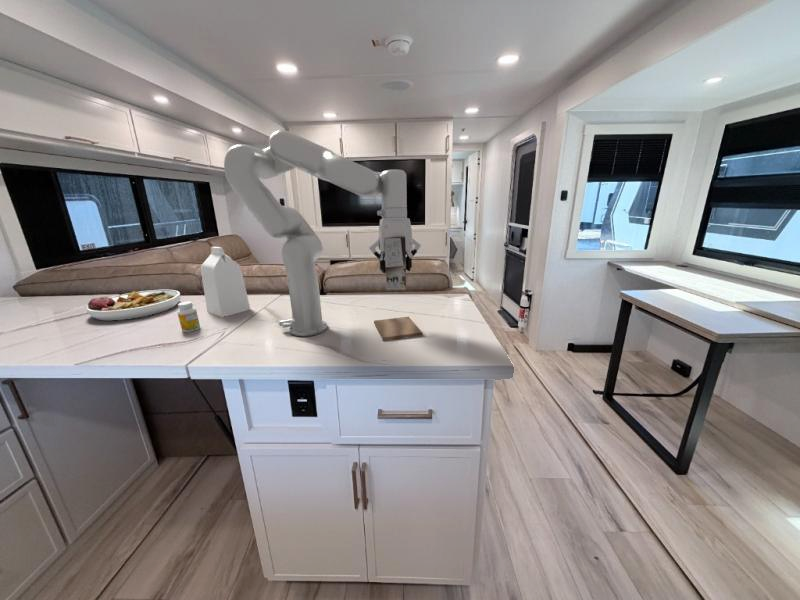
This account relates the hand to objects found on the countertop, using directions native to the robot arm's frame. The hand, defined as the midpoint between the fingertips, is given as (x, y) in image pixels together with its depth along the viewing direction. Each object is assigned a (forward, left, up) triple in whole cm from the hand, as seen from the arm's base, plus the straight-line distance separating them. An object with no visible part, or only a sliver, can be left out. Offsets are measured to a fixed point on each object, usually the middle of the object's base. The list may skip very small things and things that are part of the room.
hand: (395, 270), depth 97 cm
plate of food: (-98, +54, -21) cm, 114 cm away
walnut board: (0, 0, -20) cm, 20 cm away
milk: (-61, +41, -21) cm, 76 cm away
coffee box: (0, 0, -5) cm, 5 cm away
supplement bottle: (-69, +23, -21) cm, 76 cm away
